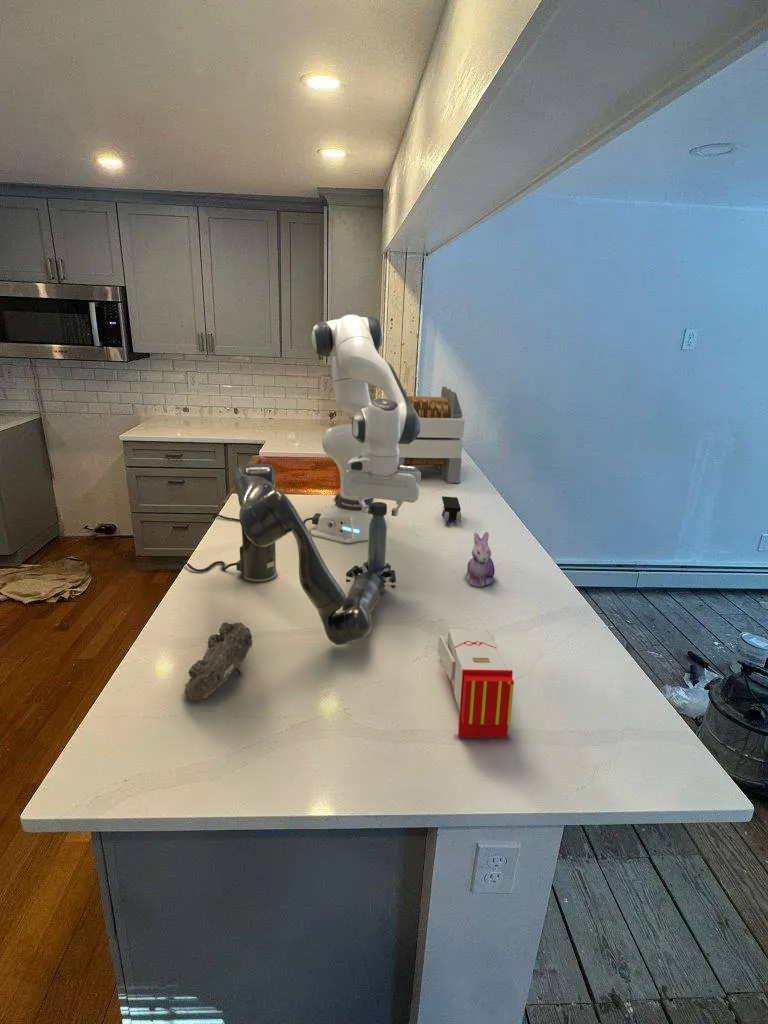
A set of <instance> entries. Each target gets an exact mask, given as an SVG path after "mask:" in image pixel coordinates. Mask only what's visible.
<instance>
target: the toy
mask: <svg viewBox="0 0 768 1024" xmlns="http://www.w3.org/2000/svg"><path fill="white" fill-rule="evenodd" d="M446 640H447V643H446V641H445V639H444V636H443V635H442V634H439V637H438V646H437V656H438V657H439V659H440V661H441V663H442V666H443V668H444V670H445V672H446V674H447V677H448V679H449V681H450V684H451V687H452V690H453V693H454V697H455V701H456V705H457V708H458V711H459V714H458V715H459V716H458V730H457V731H458V732H457V737H458V738H508V731H509V726H510V725H511V717H512V707H513V697H514V696H513V695H514V684H515V680H514V679H513V673H514V671H513V670H512V669H508V667H507V665H506V662H505V661H504V659H503V658H502V655H501V653H500V651H499V649H498V647H497V643H496V639H495V637H494V635H493V634H491V632H490V631H489V629H467V628H466V629H465V628H463V629H461V628H460V629H459V628H448V630H447V639H446Z"/></svg>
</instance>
